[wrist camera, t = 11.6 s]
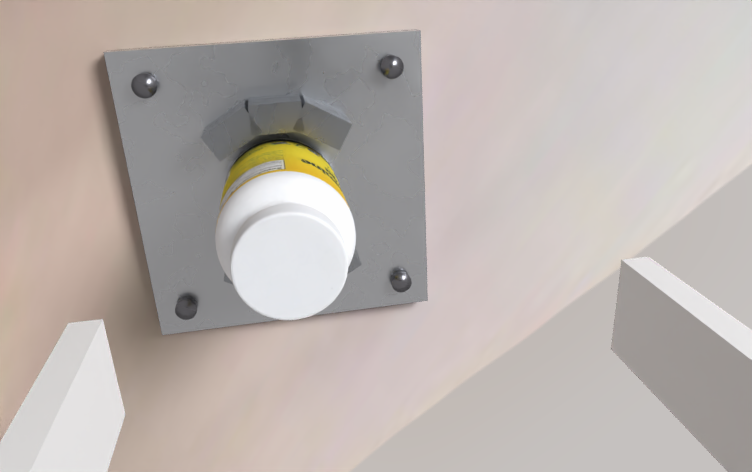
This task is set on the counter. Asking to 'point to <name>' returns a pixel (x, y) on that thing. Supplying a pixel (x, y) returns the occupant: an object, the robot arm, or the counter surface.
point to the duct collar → (263, 122)
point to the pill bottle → (284, 230)
